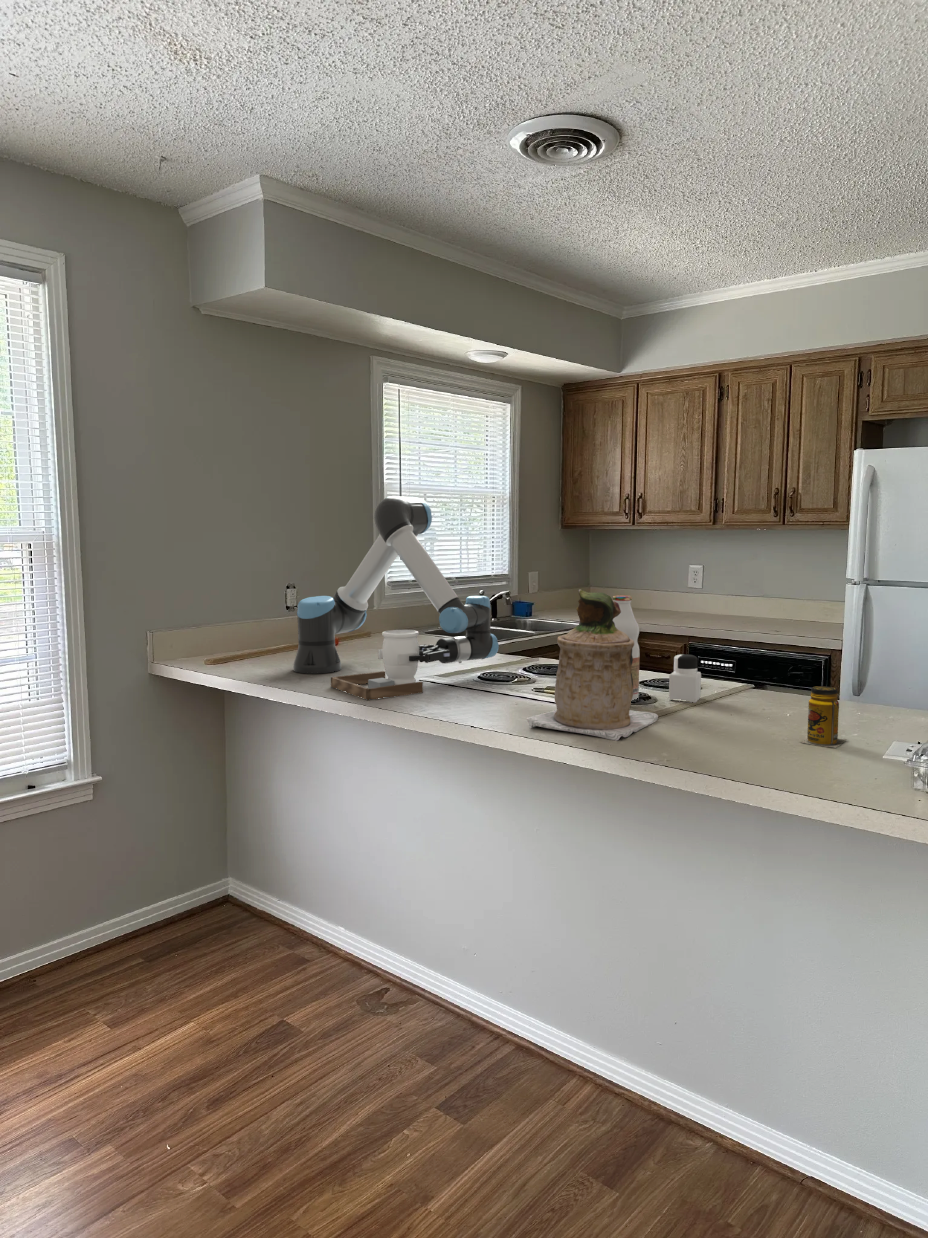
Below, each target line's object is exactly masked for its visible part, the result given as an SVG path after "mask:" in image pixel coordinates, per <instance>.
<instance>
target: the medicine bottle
mask: <svg viewBox="0 0 928 1238" xmlns="http://www.w3.org/2000/svg"><path fill="white" fill-rule="evenodd" d="M668 681H669V683H668V685H669V686H668V699H669V698H670V699H681V700H686V701H690V702H689V703H692V702H693V703H692V704H695V703H697V702H698V701H699V700H700V699H701V694H702V693H701V692H702V691H701V690H702V688H701V686H702V684H701V683H702V673H701V671H698V657H697V656H696V655H693V654H684V653H683V654H681V653H680V654H677V655H675V656H674V657H673V672H671V673H669V680H668Z"/></svg>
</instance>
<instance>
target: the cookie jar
mask: <svg viewBox="0 0 928 1238" xmlns="http://www.w3.org/2000/svg"><path fill="white" fill-rule="evenodd" d="M577 592H578V595H579V599H578V601H577V602H578V606H577V607H576V609H575V610H576V612H577V615H578V616H577V617H578V618H579V624H577V625H576V626H575V627H573V629H571V630H570V631H569V632H568V633H566V634H563V635H560V636H559V635H558V637H557V640H556V641H557V642H556V643H557V645H558V646H559V655H558V656H559V657H558V664H557V671H556V672H555V673H556V676H555V677H556V678H555V685H554V687H555V688H554V704H555V706H556V709H553V710H552V711H548V712H542V713H540V714H536V715H532V716H528V717H526V721H527V722H528V726H529V729H532V728H533V727H541V728H544V729H550V730H558V731H563V732H570V733H577V734H583V735H589V736H593V737H599V738H602V739H606V740H611V741H619V740H620V738H621V737H622V738H628V737H629V736H631V734H633V733H637V732H639V731H641V730H642V729H644V728H645V727H648V726H650V725H652V724H654V723H655V722H657V720H658V718H659V715H658V714H657V713H654V712H650V711H638V710H631V705H632V703H631V701H632V697H633V679H632V673H631V667H632V662H633V657H632V648H633V646H634V641H633V640H632V639H630V638H629V636H628V635H627V634H626V633H624V632H622V631H620V630H618V629H617V628H616V627H615V623H614V622H613V619H614V618H615V617H617V616H618V615H619V614H620V613H621V610H620V607H619V604H618V603H617V602H615V601H613V597H612V596H610V595H608V594H606V593H605V592H587V591H586V590H585V591H584V590H582V589H578V591H577Z"/></svg>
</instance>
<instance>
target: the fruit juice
mask: <svg viewBox="0 0 928 1238" xmlns="http://www.w3.org/2000/svg"><path fill="white" fill-rule="evenodd" d="M612 601H615V602H617V603H618V604H619V607H620V610H621V613H620V614H619V615H618V616H617V617H615V618H614V619H613V622H614V623H615V627H616V628H617V629H618V630H620V631H622V632H624V633H626V634H627V635H628V636H629V638H630V639H632V640H633V641H634V646H633V648H632V657H633V662H632V667H631V673H632V679H633V697H632V700H634V699H637V698H638V699H639V696H640V695H639V692H640V691H639V689H640V645H639V642H638V638H639V636H640V635H639V634H640V625H639V623H638V622H637V620H636V617H635V615H634V611H633V607H632V601H633V597H632V596H631V595H625V594H624V595H621V594H620V595H619V594H618V595H613V596H612Z"/></svg>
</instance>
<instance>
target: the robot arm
mask: <svg viewBox="0 0 928 1238" xmlns="http://www.w3.org/2000/svg"><path fill="white" fill-rule="evenodd" d="M373 515H374V516H373V520H374V525H375V528H376V529H377V531H378V535H377V538H376V539H375V541H374V542H373V544H372V546H371V547H370V548H369V550H368V552H367V553H366V554H365V556H364V557H363V559H362V561H361V562H360V564H359V565H358V567H357V568H356V570H355V571H354V573H353V574H352V576H351V577H350V579H349V581H347V583H346V585H345V586H339V588H338V589H337V590H336V592H335V593H334V595H333V596H329V595H316V596H309V597H306V598H303V599H301V600H300V601H299V602H297V603H298V604H297V612H296V615H297V634H298V635H297V636H298V637H297V639H298V648H297V651H296V655H295V658H294V661H293V671H294V672H295V673H299V674H310V675H311V674H315V675H316V674H327V673H335V672H339V671H341V669H342V662H341V659H340V657H339V653H338V649H337V647H336V635H339V634H343V633H350V632H353V631H355V630H358V629H359V628H361V626H363V624H364V623H365V621H366V619H367V611H368V610H367V609H368V607H369V603H368V600H369V599H370V598H371V596H372V594H373V592H374V591H375V590H376V588H377V587H378V586H379V584H380V582H381V581H382V580H383V578H384V576H385V575H386V573H387V572H388V571H389V569H390V568H391V566H392V565H393V563H394V562H395V560H396V559H397V558H398V556H399V558H400V560H401V561H402V563H403V564H404V566H405V567H406V568H407V570H408V571H409V573H410V574H411V575H412V577H413V578H414V580H415V581H416V582H417V585H418V586H419V587H420V588H421V590H422V591H423V593H424V594H425V596H426V597H427V598H428V600H429V601H430V602H431V604H432V605H433V607H434V608H435V609H436V612H437V613H438V614H439V616H438V621H439V626H440V628H441V629H442V630H443V631H445V632H446V633H449V634H458V633H459V634H460V633H462V632H464V631H465V635H460V636H451V637H444V638H439V639H438V640H437V641H436V643H435V645H434V644H428V645H427V644H420V645H419V644H418V645H419V655H418V653H417V652H416V653H407V654H398V655H397V664H407V663H415V662H418V663H419V662H420V663H425V664H428V663H433V662H437V661H438V662H439V663H441V664H450V663H452V664H453V663H456V662H458V663H459V664H462V661H463V662H464V661H465V662H466V661H475V660H485V659H489V658H493V657H494V656H496V655H497V653H498V651H499V642H498V638H497V636H496V635H495V634H494V633H491V609H492V608H491V599H490V598H489V596H485V595H470V596H467V597H466V598H465V604H464V603H463V602H462V601H461V598H459V596H458V595H457V594H456V592H455V590H454V589H453V587H452V586H451V585H450V583H449V582H448V580H447V579H446V578H445V576H444V575H443V573H442V572H441V570H440V569H439V567H438V566H437V564H436V563H435V561H434V560H433V559H432V557H431V556H430V554H429V553H428V552H427V550H426V549H425V547H424V546H423V545H422V543H421V542H420V540H419V539H418V538H417V536H418V535H422V534H424V533H426V532H427V531H428V530H429V528H430V527H431V525H432V521H433V515H432V509H431V508H430V506H429V504H428V502H426V501H425V500H424V499H422V498H421V497H416V496H398V495H397V496H396V495H392V496H391V495H390V496H388V497H385V498H383V499H382V500H381V501H380V502H378V503H377V506H376V507H375V510H374V513H373ZM377 659H378V660H383V656H382V648H381V649H377ZM334 671H335V672H334Z"/></svg>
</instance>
